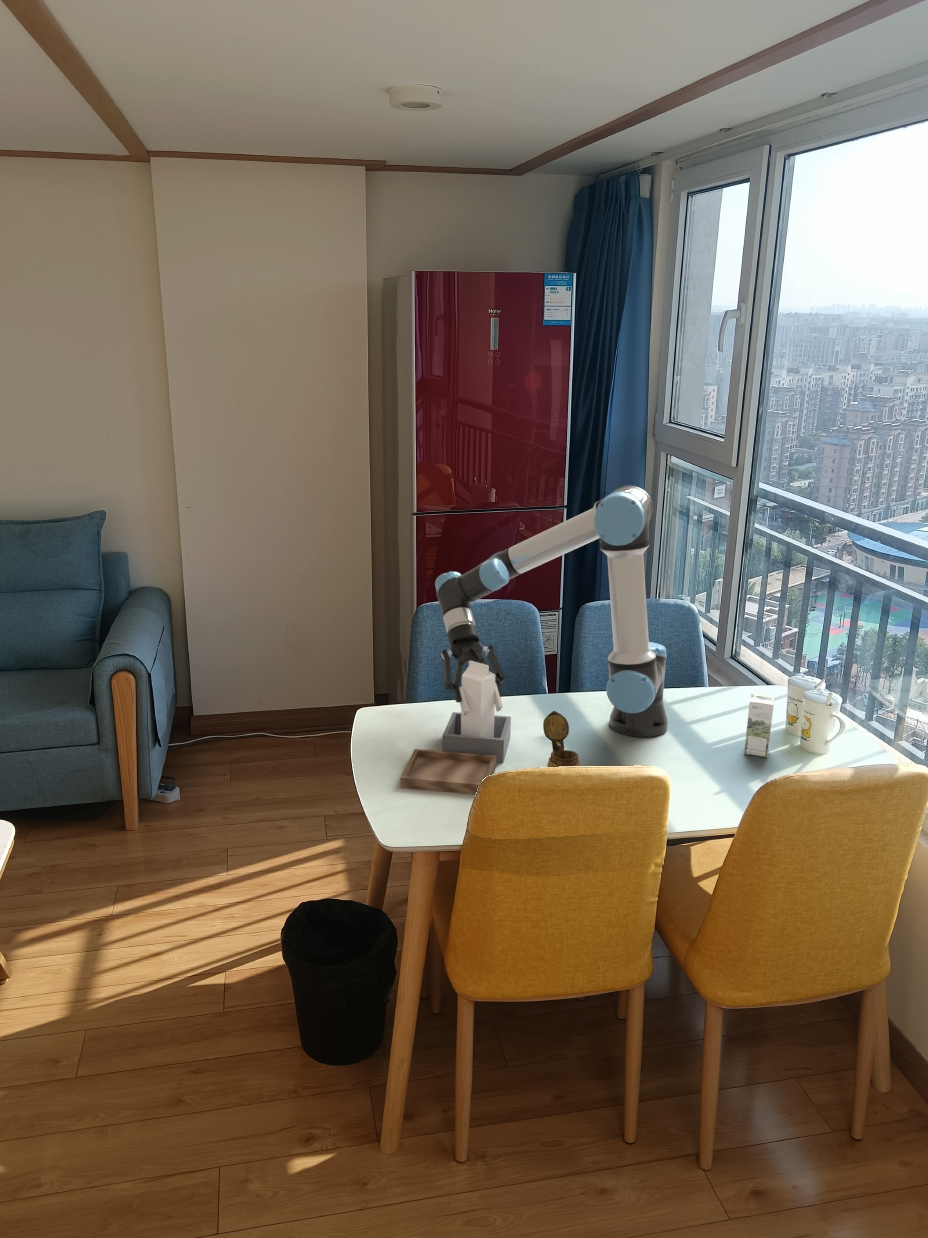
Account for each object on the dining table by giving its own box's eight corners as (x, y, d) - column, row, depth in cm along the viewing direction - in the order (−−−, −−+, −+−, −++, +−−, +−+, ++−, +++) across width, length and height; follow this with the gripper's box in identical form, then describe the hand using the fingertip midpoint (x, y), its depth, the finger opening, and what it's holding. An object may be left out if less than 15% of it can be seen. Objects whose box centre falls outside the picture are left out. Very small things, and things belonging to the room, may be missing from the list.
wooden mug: (568, 780, 227) (572, 708, 222) (588, 808, 215) (593, 732, 209) (531, 784, 225) (534, 711, 220) (549, 811, 213) (553, 735, 208)
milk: (474, 739, 248) (476, 657, 242) (494, 745, 244) (496, 662, 238) (460, 747, 243) (461, 663, 237) (479, 753, 240) (481, 668, 234)
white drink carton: (768, 749, 246) (774, 695, 242) (767, 758, 241) (773, 703, 237) (745, 746, 248) (750, 692, 244) (743, 755, 243) (749, 700, 238)
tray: (496, 765, 235) (496, 755, 234) (487, 795, 219) (487, 785, 219) (414, 758, 238) (414, 749, 237) (400, 787, 222) (400, 777, 222)
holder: (510, 738, 250) (510, 716, 248) (503, 763, 236) (503, 740, 234) (452, 733, 252) (452, 712, 250) (442, 758, 238) (442, 735, 236)
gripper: (495, 632, 254) (517, 712, 244) (418, 640, 247) (438, 722, 237) (503, 618, 248) (527, 700, 238) (425, 626, 241) (445, 710, 231)
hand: (482, 711), depth 238 cm, fingers closed on milk, 8 cm apart
